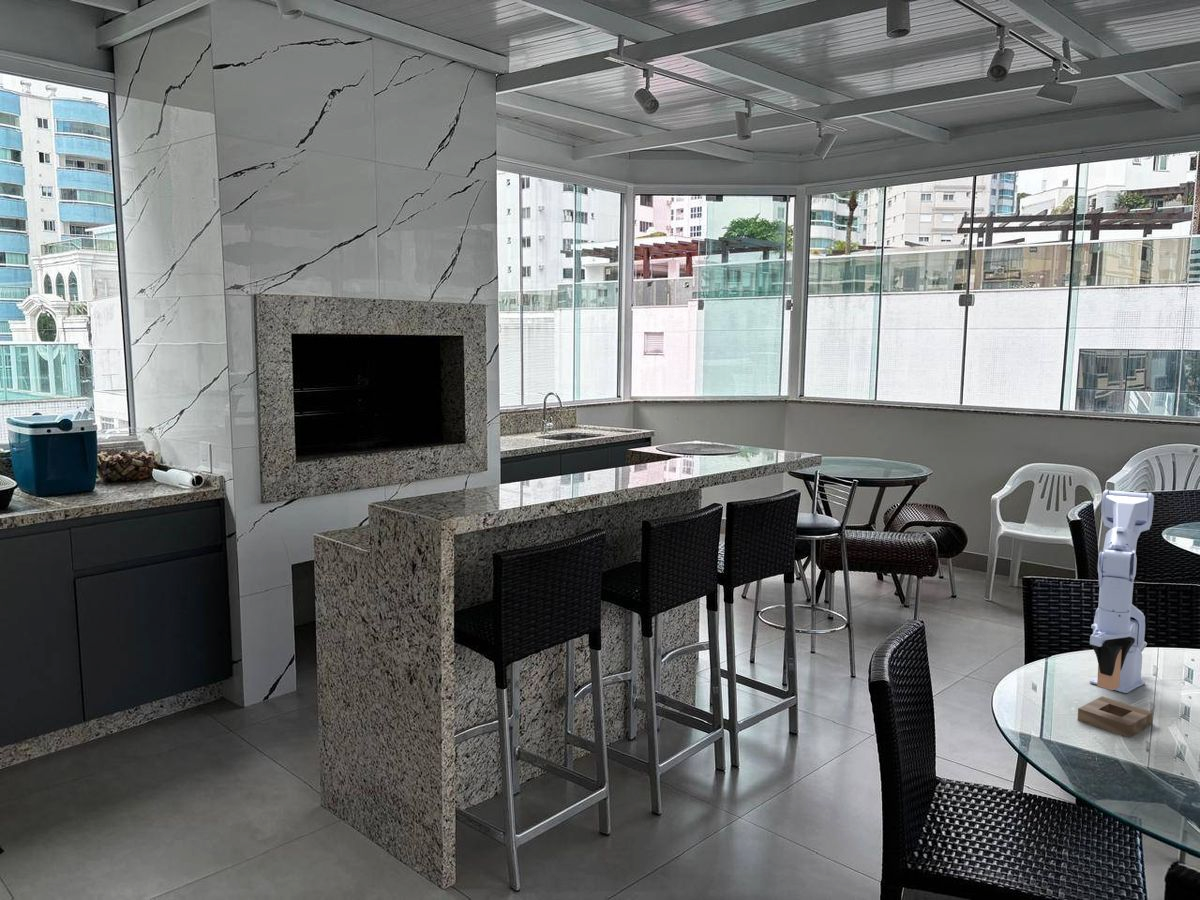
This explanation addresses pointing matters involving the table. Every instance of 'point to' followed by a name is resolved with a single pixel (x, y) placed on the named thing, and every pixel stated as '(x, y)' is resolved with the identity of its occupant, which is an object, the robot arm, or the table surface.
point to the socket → (1115, 716)
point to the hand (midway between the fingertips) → (1110, 672)
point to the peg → (1113, 680)
